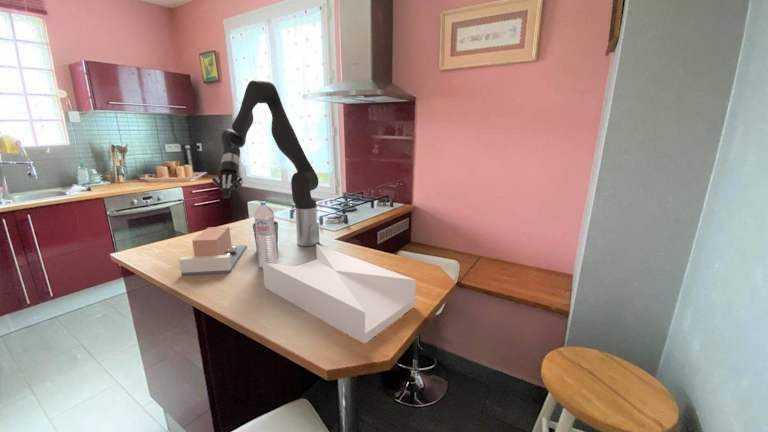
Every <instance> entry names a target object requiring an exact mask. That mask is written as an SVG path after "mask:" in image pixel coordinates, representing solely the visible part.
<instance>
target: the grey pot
mask: <svg viewBox="0 0 768 432" xmlns="http://www.w3.org/2000/svg"><path fill="white" fill-rule="evenodd" d="M274 227H275V235H276V249H277V251H278V249H279V248H278V243H279V242H278V241H279V237H278V236H279V223H278V221H275V220H274ZM252 229H253V235H254V236H253V237H254V240H255V246H256V250H257V241H256V226H255V222H254V223H253V224H252Z"/></svg>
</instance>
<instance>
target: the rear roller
mask: <svg viewBox="0 0 768 432" xmlns="http://www.w3.org/2000/svg"><path fill="white" fill-rule="evenodd" d="M235 246H236V245H231V246H230V247H229V249H228V250H227V251H226V252H225V253H229V254H230V253H236V252H237V247H235Z"/></svg>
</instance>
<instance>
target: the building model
mask: <svg viewBox="0 0 768 432" xmlns="http://www.w3.org/2000/svg"><path fill="white" fill-rule="evenodd" d="M315 246H316V248H315V249H316V251H315V252H316V259H312V260H310V261H308V262H305V263H302V264H299V265H289V264H288V265H287V264H282V263H281V264H280V263H277V264H273V263H264V262H262V263H263V268H262V271H263V283H264V288H265V289H267V290H269V291H270V292H272V293H274V294H276V295H277V296H279V297H281V298H283V299H284V300H286V301H288V302H290V303H291V304H293V305H295V306H297V307H298V308H301V309H302V310H303V311H306V312H307V313H309V314H310V315H312V316H314V317H316V318H318V319H319V320H321V321H323V322H325V323H326V324H328V325H330V326H331V327H333V328H336V329H337V330H338V331H340V332H341V333H344V334H345V335H347V334H348V335H347V336H349V337H351V338H353V339H354V338H355V339H354V340H356V339H357V340H356V341H358V340H359V341H360V343H361V342H362V343H361V344H363V343H364V344H363V345H366V344H365V343H367V342H368V341H369V340H371V339H372V338H373V337H374V336H376V335H377V334H378V333H380V332H381V331H382V330H383V329H385V328H386V327H387V326H389V325H390V324H392V323H393V322H394V321H395V320H396V319H398V318H399V317H400V316H402V315H403V314H404V313H406V312H407V311H408V310H409V309H411V308H412V307H413V306H415V307H416V290H417V288H416V287H417V279H415V278H411V277H410V276H406V275H403V274H400V273H398V272H395V271H393V270H389V269H387V268H384V267H381V266H378V265H375V264H373V263H370V262H367V261H365V260H361V259H358V258H356V257H353V256H351V255H347V254H345V253H342V252H339V251H336V250H334V249H330V248H328V247H325V246H322V245H320V244H318V243H317V244H315ZM393 324H394V323H393ZM393 324H392V325H393ZM389 327H390V326H389ZM385 330H386V329H385ZM381 333H382V332H381ZM381 333H380V334H381ZM377 336H378V335H377ZM377 336H376V337H377ZM373 339H374V338H373ZM373 339H372V340H373ZM372 340H371V341H372ZM359 341H358V342H359ZM369 342H370V341H369ZM369 342H368V343H369ZM368 343H367V344H368Z"/></svg>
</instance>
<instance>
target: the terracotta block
mask: <svg viewBox="0 0 768 432" xmlns="http://www.w3.org/2000/svg"><path fill="white" fill-rule="evenodd" d="M230 230H231V229H230V226H216V227H215V226H211V227H206V228H205V229H204V230H203V231H202V232H201V233H200V234H198V235H197V236H196V237H195V238H193V240H192V239H191V242H192V243H191V244H192V248H193V256H214V255H224V254H225V252H226V251H227V250H228V249H229V247H230V246H232V240H231V231H230Z"/></svg>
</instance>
